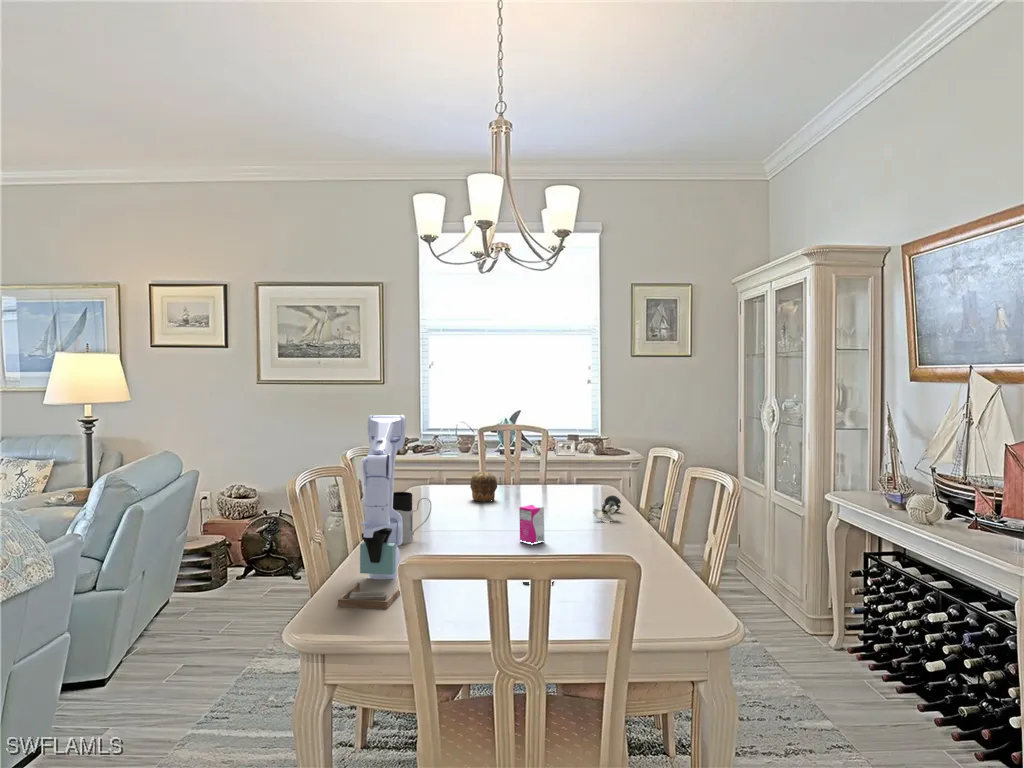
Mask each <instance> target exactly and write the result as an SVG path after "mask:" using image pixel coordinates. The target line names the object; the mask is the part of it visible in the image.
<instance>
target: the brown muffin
mask: <svg viewBox="0 0 1024 768" xmlns="http://www.w3.org/2000/svg"><path fill="white" fill-rule="evenodd" d="M469 487H470V489H471V492H472V493H471V497H472V500H473V501H475V500H476V501H475V502H477V501H491V500H495V497H496V496H495V495H496V490H497V489H498V481H497V478H496V476H495V475H494V474H493V472H487V471H484V472H483V471H476V472H474V473H473V474H472V476H471V479H470V486H469ZM491 502H492V501H491Z"/></svg>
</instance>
